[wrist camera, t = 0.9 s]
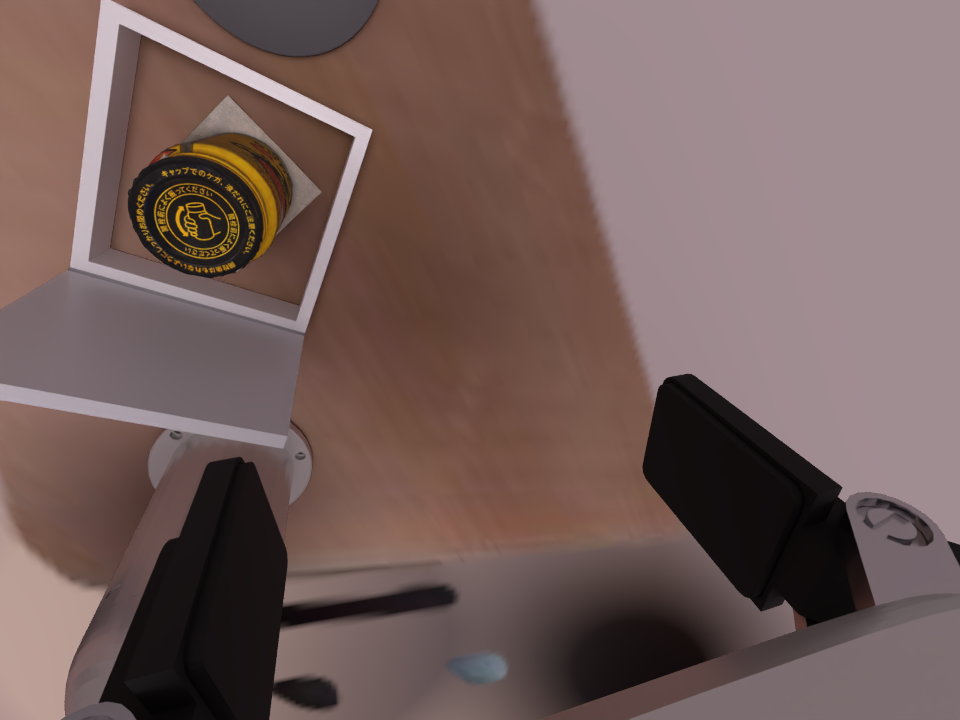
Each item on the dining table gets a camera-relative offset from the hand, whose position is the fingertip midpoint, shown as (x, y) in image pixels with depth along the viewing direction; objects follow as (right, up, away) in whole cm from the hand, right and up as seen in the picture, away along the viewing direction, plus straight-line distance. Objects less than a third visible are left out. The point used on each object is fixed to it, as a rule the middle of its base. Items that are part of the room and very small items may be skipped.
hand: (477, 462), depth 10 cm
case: (-16, +14, +19) cm, 29 cm away
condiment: (-16, +14, +20) cm, 29 cm away
